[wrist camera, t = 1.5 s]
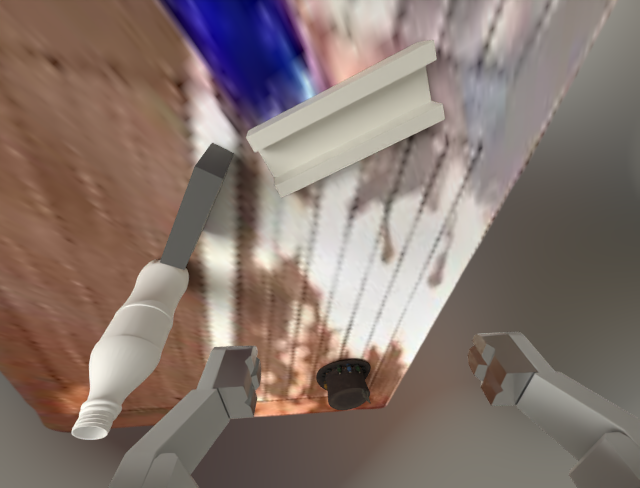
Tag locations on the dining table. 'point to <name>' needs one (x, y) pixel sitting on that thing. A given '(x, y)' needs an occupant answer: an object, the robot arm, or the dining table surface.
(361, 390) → the top hat
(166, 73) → the dining table surface
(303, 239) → the dining table surface
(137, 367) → the water bottle
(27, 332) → the dining table surface
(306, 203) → the dining table surface
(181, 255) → the picture frame
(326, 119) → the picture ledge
